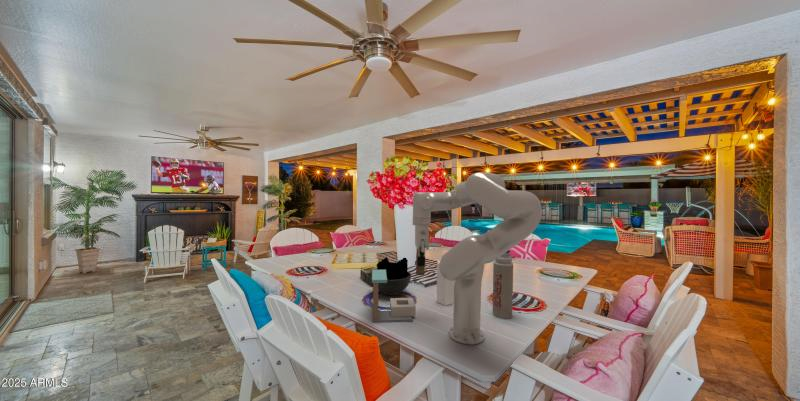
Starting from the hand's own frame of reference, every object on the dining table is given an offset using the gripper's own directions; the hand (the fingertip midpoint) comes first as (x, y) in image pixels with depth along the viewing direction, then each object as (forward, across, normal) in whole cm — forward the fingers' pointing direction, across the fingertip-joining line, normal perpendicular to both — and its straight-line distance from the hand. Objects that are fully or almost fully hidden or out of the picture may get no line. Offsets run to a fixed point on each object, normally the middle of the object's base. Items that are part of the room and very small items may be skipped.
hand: (420, 264), depth 124 cm
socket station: (+22, +1, +11) cm, 24 cm away
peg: (+4, 0, 0) cm, 4 cm away
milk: (+22, +12, -14) cm, 29 cm away
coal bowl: (+22, +25, +11) cm, 35 cm away
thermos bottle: (+21, -2, -35) cm, 41 cm away
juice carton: (+23, +46, +21) cm, 55 cm away
